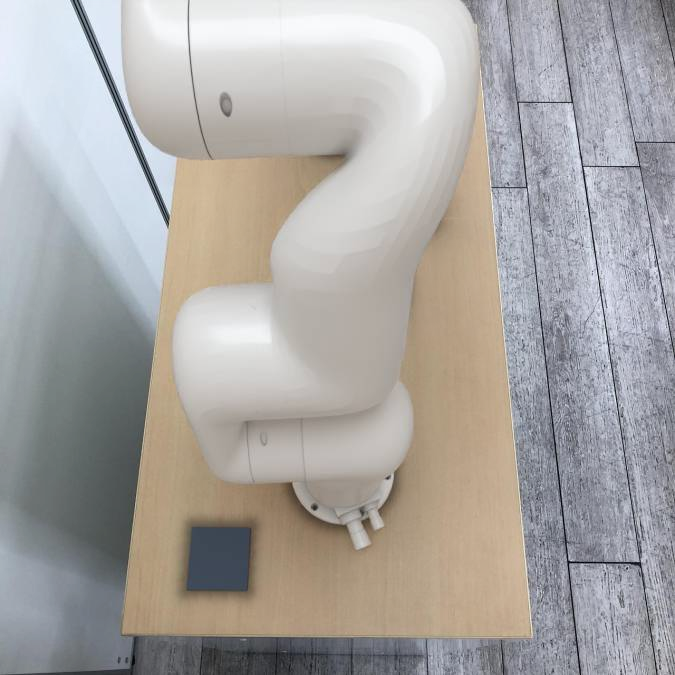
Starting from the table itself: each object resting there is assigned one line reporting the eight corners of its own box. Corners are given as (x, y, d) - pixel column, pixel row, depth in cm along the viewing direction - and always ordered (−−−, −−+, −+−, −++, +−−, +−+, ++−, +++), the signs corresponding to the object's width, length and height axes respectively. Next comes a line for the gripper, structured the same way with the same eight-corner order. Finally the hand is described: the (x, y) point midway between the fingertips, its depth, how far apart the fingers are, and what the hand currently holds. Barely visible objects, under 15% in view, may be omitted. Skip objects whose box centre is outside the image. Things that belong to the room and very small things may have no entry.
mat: (247, 590, 73) (246, 590, 73) (187, 589, 73) (186, 590, 73) (250, 527, 75) (250, 527, 75) (192, 527, 75) (191, 526, 75)
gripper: (230, -93, 63) (252, 42, 79) (404, -94, 63) (390, 41, 79) (234, -143, 65) (254, -2, 81) (400, -145, 65) (388, -4, 81)
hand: (321, 19), depth 80 cm, fingers open, 9 cm apart
